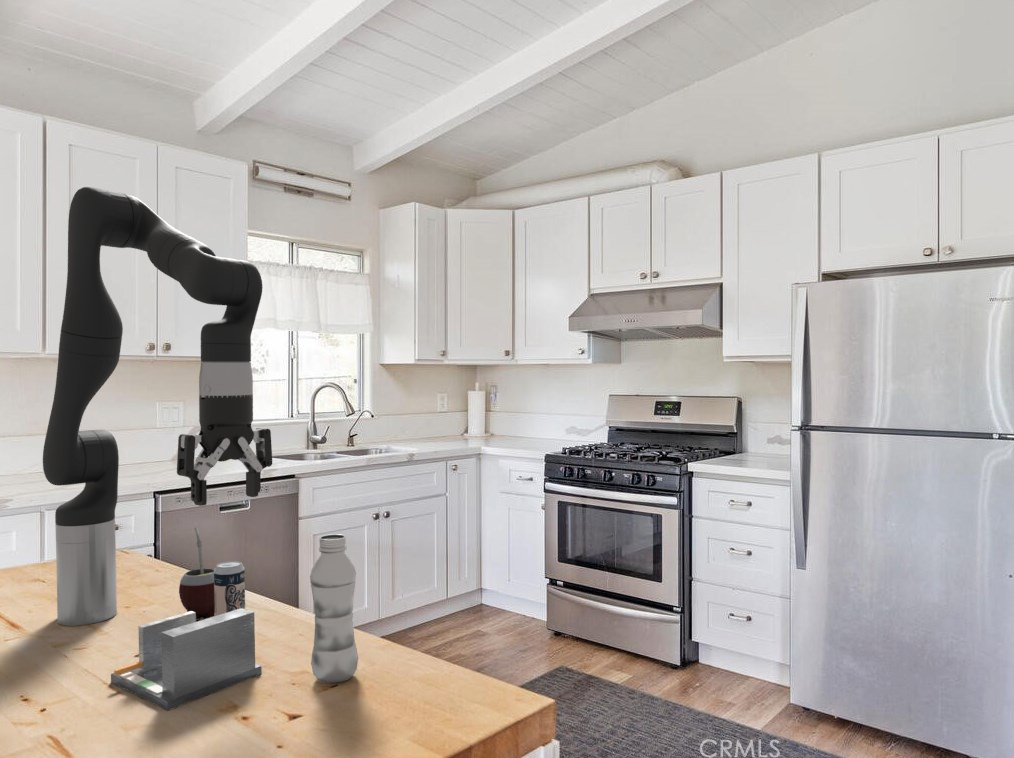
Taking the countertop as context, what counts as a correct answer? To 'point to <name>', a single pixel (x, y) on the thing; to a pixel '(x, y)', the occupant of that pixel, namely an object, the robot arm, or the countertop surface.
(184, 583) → the mate gourd
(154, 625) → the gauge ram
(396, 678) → the countertop surface
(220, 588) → the beer can
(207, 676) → the gauge base
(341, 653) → the plastic bottle
